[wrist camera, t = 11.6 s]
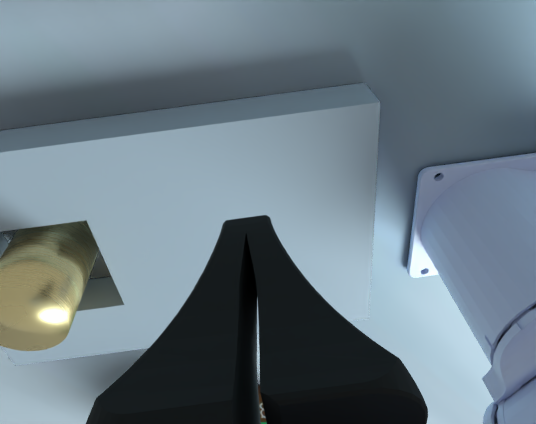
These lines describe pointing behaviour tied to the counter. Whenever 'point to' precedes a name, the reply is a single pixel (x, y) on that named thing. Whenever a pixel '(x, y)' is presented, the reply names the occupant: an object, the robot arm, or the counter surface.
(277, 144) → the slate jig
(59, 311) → the gold metal cylinder
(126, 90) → the counter surface
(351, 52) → the counter surface
